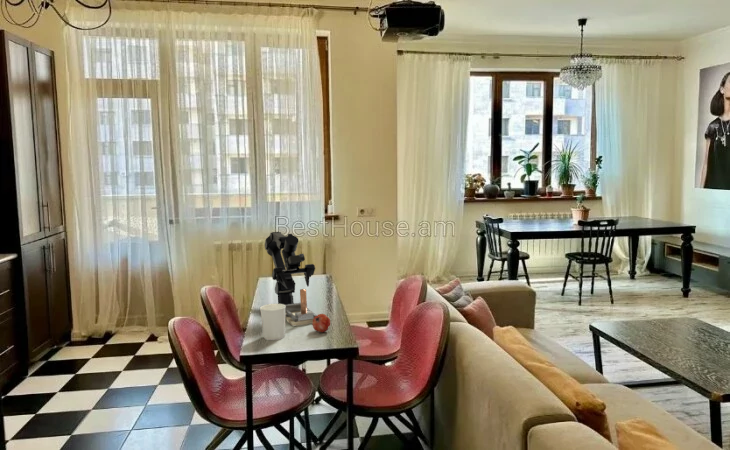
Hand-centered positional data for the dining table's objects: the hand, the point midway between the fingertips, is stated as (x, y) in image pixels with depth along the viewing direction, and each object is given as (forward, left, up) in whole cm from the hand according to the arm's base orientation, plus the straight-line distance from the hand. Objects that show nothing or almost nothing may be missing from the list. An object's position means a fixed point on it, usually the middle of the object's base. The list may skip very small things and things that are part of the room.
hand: (298, 287), depth 222 cm
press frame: (+1, -1, -14) cm, 14 cm away
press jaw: (+5, -6, -12) cm, 14 cm away
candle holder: (+1, -26, -14) cm, 29 cm away
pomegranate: (+17, -16, -14) cm, 27 cm away
